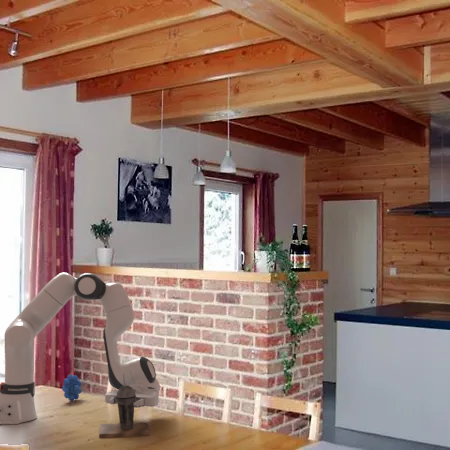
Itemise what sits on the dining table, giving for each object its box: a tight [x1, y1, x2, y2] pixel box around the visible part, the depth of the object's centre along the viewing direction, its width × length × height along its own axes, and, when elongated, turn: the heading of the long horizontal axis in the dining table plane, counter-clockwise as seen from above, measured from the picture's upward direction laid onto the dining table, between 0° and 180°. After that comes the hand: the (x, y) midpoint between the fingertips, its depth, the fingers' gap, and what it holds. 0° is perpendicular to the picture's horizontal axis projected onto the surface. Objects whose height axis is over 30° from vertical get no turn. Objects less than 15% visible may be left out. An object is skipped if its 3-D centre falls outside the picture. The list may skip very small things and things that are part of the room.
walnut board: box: [98, 422, 150, 438], centre depth 250 cm, size 18×14×1 cm
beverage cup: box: [116, 374, 136, 430], centre depth 250 cm, size 7×7×20 cm
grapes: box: [61, 374, 83, 402], centre depth 299 cm, size 12×7×12 cm, turn 150°
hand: (123, 403), depth 250 cm, fingers open, 8 cm apart
